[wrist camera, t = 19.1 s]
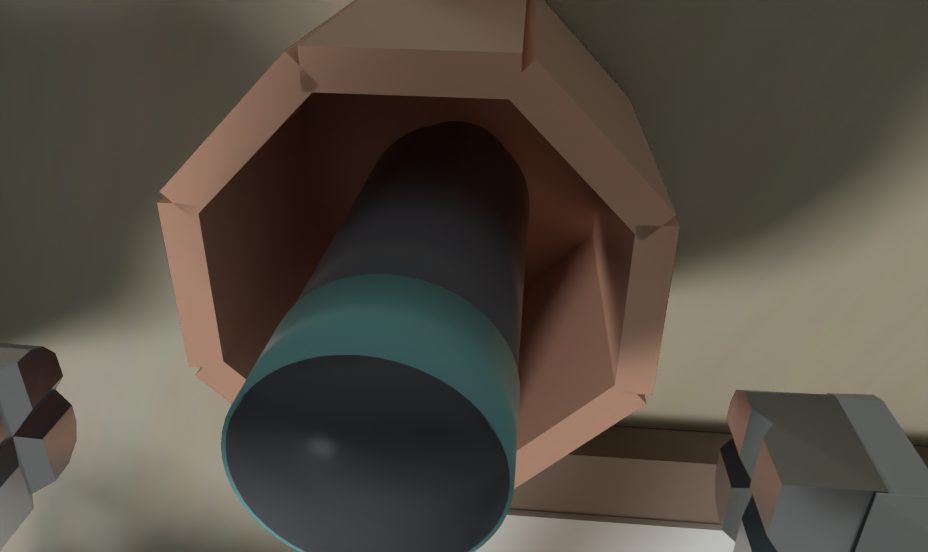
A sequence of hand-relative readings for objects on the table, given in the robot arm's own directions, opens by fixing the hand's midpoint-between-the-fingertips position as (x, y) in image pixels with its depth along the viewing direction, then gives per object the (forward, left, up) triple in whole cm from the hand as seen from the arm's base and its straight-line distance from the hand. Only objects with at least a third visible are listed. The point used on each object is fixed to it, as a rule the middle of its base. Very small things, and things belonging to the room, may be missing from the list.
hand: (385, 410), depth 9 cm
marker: (0, 0, -8) cm, 8 cm away
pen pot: (0, 0, -9) cm, 9 cm away
